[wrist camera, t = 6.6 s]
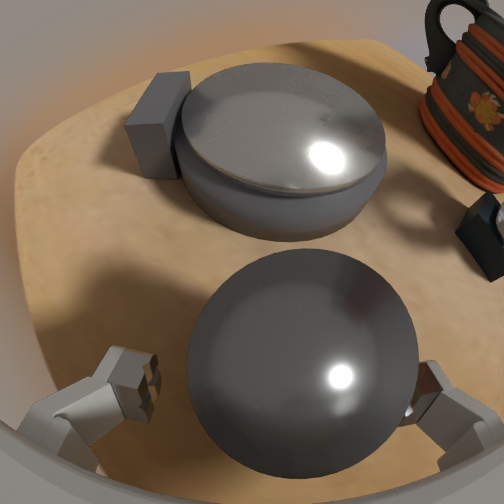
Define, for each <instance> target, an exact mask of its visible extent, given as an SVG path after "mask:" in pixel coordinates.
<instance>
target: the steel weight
mask: <svg viewBox="0 0 504 504" xmlns="http://www.w3.org/2000/svg"><path fill="white" fill-rule="evenodd" d="M418 366H419V353H418V343H417V337H416V332H415V329H414V326H413V322H412V319H411V317H410V315H409V313H408V310H407V308H406V306H405V305H404V303H403V301H402V300H401V298H400V296H399V295H398V294H397V293H396V291H395V290H394V289H393V287H392V286H391V285H390V284H389V283H388V282H387V281H386V280H385V279H384V278H383V277H382V276H381V275H379V274H378V273H377V272H376V271H374V270H373V269H372V268H370V267H369V266H367V265H365V264H364V263H362V262H360V261H358V260H356V259H354V258H351V257H349V256H347V255H344V254H340V253H337V252H334V251H328V250H322V249H293V250H286V251H282V252H277V253H274V254H271V255H268V256H265V257H262V258H260V259H258V260H256V261H254V262H252V263H250V264H248V265H246V266H245V267H243V268H242V269H240V270H239V271H237V272H236V273H234V274H233V275H232V276H231V277H230V278H229V279H228V280H226V281H225V282H224V283H223V284H222V285H221V286H220V287H219V288H218V290H217V291H216V292H215V293H214V294H213V295H212V296H211V298H210V299H209V301H208V302H207V304H206V305H205V307H204V308H203V310H202V312H201V314H200V316H199V318H198V320H197V322H196V324H195V327H194V330H193V333H192V336H191V339H190V344H189V349H188V355H187V381H188V390H189V393H190V397H191V401H192V405H193V407H194V410H195V412H196V414H197V417H198V419H199V421H200V423H201V424H202V426H203V427H204V429H205V431H206V432H207V434H208V435H209V436H210V437H211V439H212V440H213V441H214V442H215V443H216V444H217V446H218V447H219V448H221V449H222V450H223V451H224V452H225V453H226V454H227V455H229V456H230V457H231V458H233V459H234V460H236V461H237V462H239V463H241V464H242V465H244V466H246V467H248V468H250V469H253V470H255V471H257V472H260V473H263V474H267V475H270V476H274V477H280V478H288V479H308V478H316V477H322V476H326V475H330V474H333V473H337V472H339V471H342V470H344V469H347V468H349V467H351V466H353V465H355V464H357V463H358V462H360V461H362V460H363V459H365V458H366V457H368V456H369V455H370V454H372V453H373V452H374V451H376V450H377V449H378V448H379V447H380V446H381V445H382V444H383V443H384V442H385V441H386V440H387V439H388V438H389V437H390V436H391V434H392V433H393V432H394V431H395V429H396V428H397V427H398V425H399V423H400V422H401V420H402V419H403V417H404V415H405V413H406V411H407V409H408V407H409V405H410V403H411V400H412V397H413V394H414V390H415V387H416V382H417V376H418Z"/></svg>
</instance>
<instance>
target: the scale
mask: <svg viewBox="0 0 504 504" xmlns="http://www.w3.org/2000/svg"><path fill="white" fill-rule="evenodd" d="M191 91H192V89H191V81H190V72H189V71H183V72H167V73H157V74H156V76H155V77H154V78H153V80H152V81H151V83H150V84H149V86H148V87H147V89H146V90H145V92H144V93H143V95H142V97H141V98H140V100H139V101H138V103H137V105H136V106H135V108H134V110H133V111H132V113H131V115H130V116H129V118H128V120H127V121H126V123H125V125H124V126H125V129H126V131H127V134H128V137H129V139H130V142H131V144H132V147H133V149H134V152H135V154H136V157H137V159H138V162H139V164H140V167H141V169H142V172H143V174H144V176H145V178H155V179H178V176H179V173H180V170H181V174H182V177H183V180H184V183H185V186H186V188H187V190H188V192H189V194H190V195H191V197H192V198H193V199H194V201H195V202H196V203H197V205H198V206H199V207H200V208H201V209H202V210H203V211H204V212H206V213H207V214H208V215H209V216H211V217H212V218H213V219H215V220H216V221H217V222H219V223H221V224H223V225H224V226H226V227H228V228H230V229H232V230H234V231H237V232H239V233H242V234H244V235H247V236H251V237H255V238H258V239H263V240H270V241H277V242H298V241H308V240H312V239H317V238H321V237H324V236H327V235H329V234H332V233H334V232H336V231H338V230H340V229H342V228H343V227H345V226H346V225H347V224H349V223H350V222H351V221H353V220H354V218H355V217H356V216H357V215H358V214H359V213H360V212H361V210H362V209H363V207H364V206H365V205H366V203H367V202H368V200H369V199H370V197H371V196H372V194H373V193H374V191H375V190H376V188H377V187H378V185H379V184H380V182H381V180H382V179H383V176H384V173H385V170H386V164H387V152H386V147H385V150H384V152H383V155H382V158H381V159H380V161H379V163H378V164H377V166H376V168H375V169H374V171H373V172H372V174H371V175H370V176H369V177H368V178H367V179H366V180H364V181H363V182H361V183H360V184H358V185H357V186H355V187H353V188H350V189H348V190H346V191H343V192H339V193H336V194H332V195H325V196H319V197H290V196H281V195H275V194H268V193H265V192H261V191H257V190H253V189H250V188H247V187H244V186H242V185H239V184H236V183H234V182H232V181H230V180H228V179H226V178H224V177H222V176H220V175H219V174H217V173H216V172H214V171H213V170H211V169H210V168H208V167H207V166H206V165H205V164H204V163H202V162H201V161H200V160H199V159H198V157H197V156H196V155H195V154H194V153H193V151H192V150H191V148H190V146H189V145H188V143H187V140H186V137H185V134H184V129H183V123H182V108H183V105H184V102H185V100H186V98H187V97H188V95H189V94H190V92H191Z"/></svg>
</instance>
